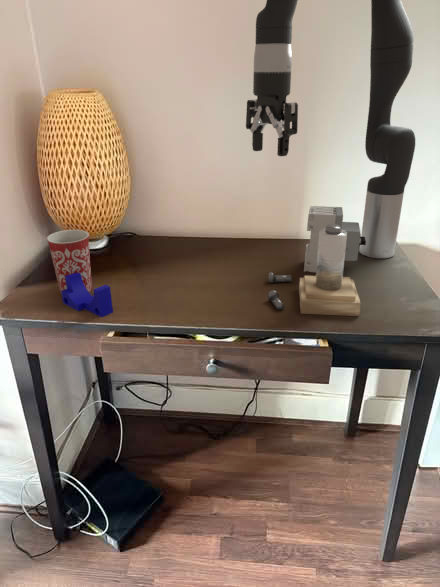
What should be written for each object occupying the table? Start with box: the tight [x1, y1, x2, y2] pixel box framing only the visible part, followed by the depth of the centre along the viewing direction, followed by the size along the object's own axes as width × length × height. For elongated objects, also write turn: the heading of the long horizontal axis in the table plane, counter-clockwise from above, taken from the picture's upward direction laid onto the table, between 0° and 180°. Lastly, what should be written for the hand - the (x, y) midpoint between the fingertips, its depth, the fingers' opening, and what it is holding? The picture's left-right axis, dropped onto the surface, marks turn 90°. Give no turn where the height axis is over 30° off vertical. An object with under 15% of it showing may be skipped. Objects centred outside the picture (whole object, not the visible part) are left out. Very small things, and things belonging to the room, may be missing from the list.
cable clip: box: [60, 273, 114, 318], centre depth 102 cm, size 12×4×6 cm, turn 49°
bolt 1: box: [268, 272, 293, 283], centre depth 114 cm, size 5×2×2 cm, turn 93°
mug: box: [46, 229, 93, 294], centre depth 110 cm, size 13×9×14 cm
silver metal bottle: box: [315, 224, 347, 291], centre depth 100 cm, size 6×6×13 cm
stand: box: [298, 275, 362, 317], centre depth 104 cm, size 12×12×4 cm
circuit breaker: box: [303, 205, 366, 273], centre depth 119 cm, size 8×14×15 cm, turn 78°
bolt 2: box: [267, 289, 285, 311], centre depth 103 cm, size 5×2×2 cm, turn 13°
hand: (269, 153), depth 102 cm, fingers open, 8 cm apart
